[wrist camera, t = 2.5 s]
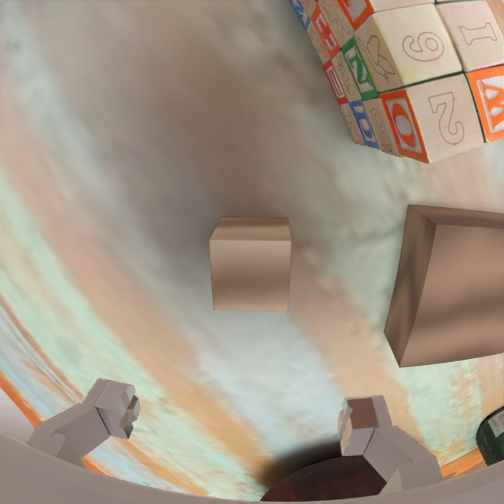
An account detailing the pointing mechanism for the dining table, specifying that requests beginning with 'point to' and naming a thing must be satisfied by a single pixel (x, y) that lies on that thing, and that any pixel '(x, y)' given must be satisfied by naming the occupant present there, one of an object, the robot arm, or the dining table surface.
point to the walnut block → (448, 287)
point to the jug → (328, 481)
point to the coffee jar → (492, 438)
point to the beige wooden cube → (251, 264)
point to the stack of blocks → (412, 72)
